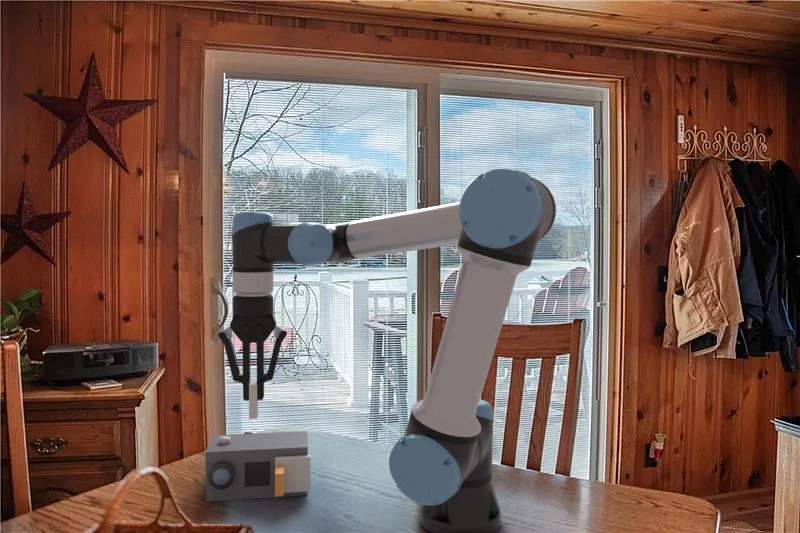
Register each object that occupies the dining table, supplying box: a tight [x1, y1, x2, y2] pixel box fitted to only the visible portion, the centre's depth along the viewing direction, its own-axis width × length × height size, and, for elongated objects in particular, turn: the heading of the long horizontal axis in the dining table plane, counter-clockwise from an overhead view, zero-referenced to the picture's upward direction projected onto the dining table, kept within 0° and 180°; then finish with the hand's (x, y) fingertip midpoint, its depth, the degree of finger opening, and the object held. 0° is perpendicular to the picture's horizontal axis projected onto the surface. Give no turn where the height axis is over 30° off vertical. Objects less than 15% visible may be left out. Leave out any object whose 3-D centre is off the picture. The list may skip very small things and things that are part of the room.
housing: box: [205, 430, 309, 503], centre depth 120 cm, size 12×20×11 cm, turn 100°
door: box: [274, 454, 312, 498], centre depth 114 cm, size 6×7×7 cm
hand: (253, 416), depth 111 cm, fingers closed
